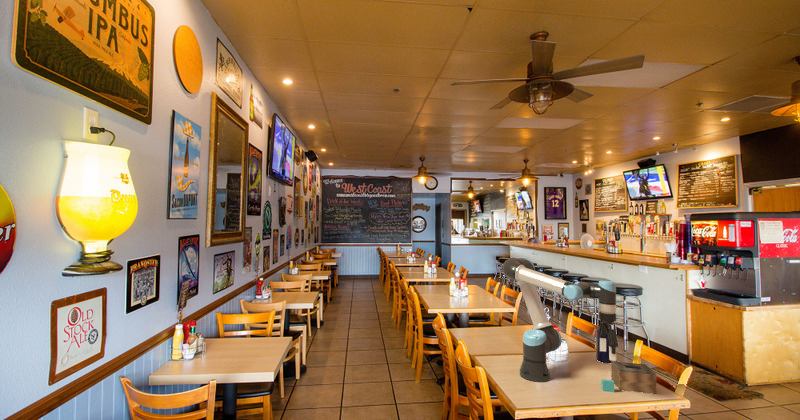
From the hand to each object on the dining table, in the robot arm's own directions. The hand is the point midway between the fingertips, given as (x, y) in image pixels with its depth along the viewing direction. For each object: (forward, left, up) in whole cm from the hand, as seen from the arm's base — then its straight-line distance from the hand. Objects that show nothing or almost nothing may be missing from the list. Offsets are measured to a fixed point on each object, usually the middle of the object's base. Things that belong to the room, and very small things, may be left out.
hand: (607, 355), depth 181 cm
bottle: (+12, +45, -17) cm, 50 cm away
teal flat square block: (0, -1, -17) cm, 17 cm away
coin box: (+14, +7, -17) cm, 23 cm away
